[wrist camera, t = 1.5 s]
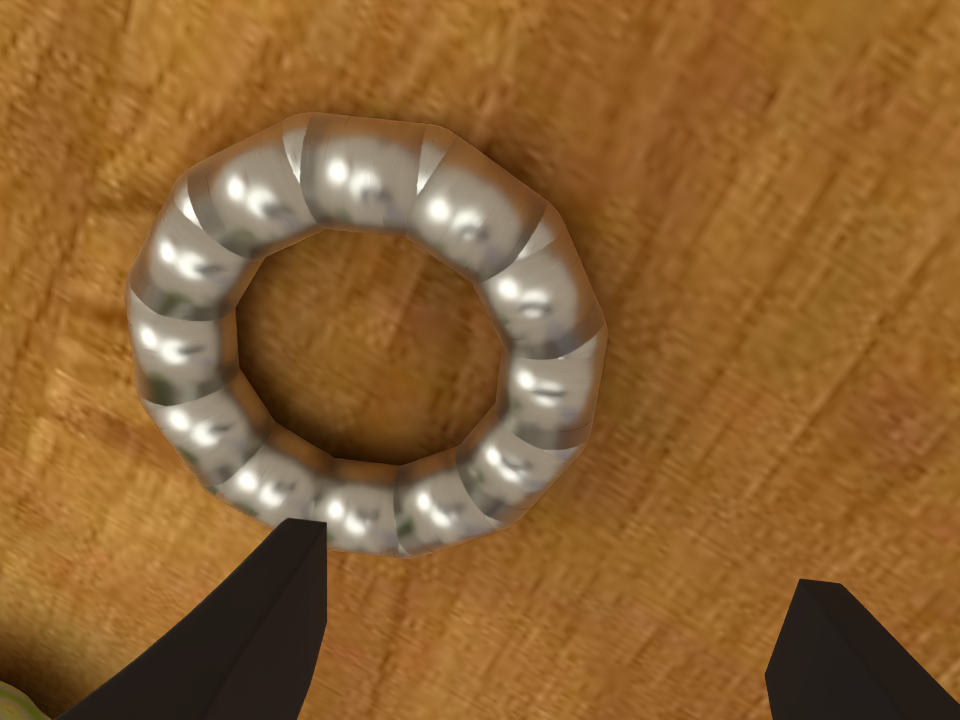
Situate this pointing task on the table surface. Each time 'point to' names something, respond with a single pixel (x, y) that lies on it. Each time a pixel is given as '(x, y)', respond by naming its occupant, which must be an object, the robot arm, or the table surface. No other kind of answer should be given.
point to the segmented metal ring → (383, 211)
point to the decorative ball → (17, 705)
